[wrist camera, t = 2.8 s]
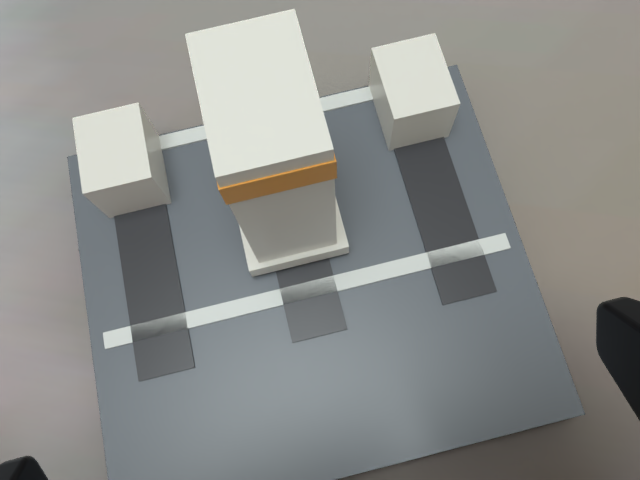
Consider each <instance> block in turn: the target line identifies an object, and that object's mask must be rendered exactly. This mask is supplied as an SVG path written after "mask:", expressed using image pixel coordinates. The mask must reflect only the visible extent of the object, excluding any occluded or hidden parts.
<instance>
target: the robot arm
mask: <svg viewBox="0 0 640 480" xmlns="http://www.w3.org/2000/svg"><path fill="white" fill-rule="evenodd" d="M596 345H597V350H598V353H599V356H600V358H601V360H602V361H603V363H604V365H605V366H606V368H607V369H608V371H609V373H610V374H611V376H612V377H613V379H614V381H615V382H616V384H617V385H618V387H619V389H620V390H621V392H622V393H623V395H624V397H625V398H626V400H627V401H628V403H629V405H630V406H631V408H632V409H633V411H634V412H635V414H636V416H637V417H638V419H639V420H640V301H637V300H634V299H631V298H627V297H620V298H616V299H612V300H609V301H605V302H602V303H601V304H599V306H598V308H597V323H596ZM0 480H48V478H47V477H46V475H45V474H44V472H43V470H42V469H41V467H40V465H39V464H38V462H37V461H36V460H35V459H34V458H33V457H31V456H24V457H20V458H16V459H13V460H9V461H6V462H3V463H2V464H0Z"/></svg>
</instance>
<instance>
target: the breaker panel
mask: <svg viewBox="0 0 640 480" xmlns="http://www.w3.org/2000/svg"><path fill="white" fill-rule="evenodd" d="M319 98H320V102H321V105H322V109H323V112H324V116H325V119H326V123H327V127H328V130H329V134H330V137H331V141H332V145H333V148H334V154H335V157H336V161H337V178H336V179H335V196H336V200H337V204H338V207H339V211H340V215H341V218H342V222H343V226H344V229H345V233H346V237H347V240H348V244H349V253H347V254H343V255H339V256H335V257H331V258H327V259H323V260H319V261H315V262H311V263H307V264H303V265H298V266H294V267H290V268H286V269H282V270H278V271H274V272H270V273H266V274H262V275H258V276H254V277H252V276H251V274H250V272H249V269H248V265H247V260H246V255H245V251H244V246H243V241H242V237H241V232H240V227H239V223H238V221H237V220H236V218H235V216H234V214H233V212H232V210H231V208H230V206H229V204H228V205H226V203H225V202H224V200H223V198H222V196H221V194H220V192H219V190H218V186H217V181H216V179H215V176H214V171H213V166H212V161H211V156H210V152H209V147H208V142H207V137H206V132H205V127H204V125H200V126H196V127H191V128H187V129H183V130H179V131H174V132H170V133H166V134H162V135H159V134H158V132H157V131H156V129H155V128H154V126H153V125H152V123H151V121H150V120H149V118H148V117H147V115H146V113H145V112H144V110H143V109H142V107H141V106H140V104H139V102H138V103H134V104H130V105H125V106H121V107H117V108H112V109H108V110H104V111H100V112H95V113H91V114H87V115H83V116H78V117H74V118H72V120H73V127H74V135H75V142H76V150H77V155H73V156H68V157H67V158H68V166H69V174H70V182H71V190H72V198H73V206H74V214H75V221H76V229H77V237H78V245H79V253H80V261H81V269H82V277H83V285H84V293H85V301H86V309H87V316H88V324H89V332H90V340H91V348H92V356H93V364H94V372H95V380H96V388H97V396H98V403H99V411H100V419H101V427H102V435H103V443H104V451H105V459H106V467H107V475H108V480H336V479H340V478H344V477H348V476H351V475H355V474H359V473H363V472H367V471H371V470H374V469H378V468H382V467H386V466H390V465H393V464H397V463H401V462H405V461H409V460H413V459H416V458H420V457H424V456H428V455H432V454H436V453H439V452H443V451H447V450H451V449H455V448H458V447H462V446H466V445H470V444H474V443H478V442H481V441H485V440H489V439H493V438H497V437H501V436H504V435H508V434H512V433H516V432H520V431H524V430H527V429H531V428H535V427H539V426H543V425H546V424H550V423H554V422H558V421H562V420H566V419H569V418H573V417H577V416H581V415H585V412H584V410H583V407H582V404H581V402H580V399H579V396H578V393H577V391H576V388H575V385H574V383H573V380H572V377H571V374H570V372H569V369H568V366H567V363H566V361H565V358H564V355H563V353H562V350H561V347H560V344H559V342H558V339H557V336H556V334H555V331H554V328H553V325H552V323H551V320H550V317H549V314H548V312H547V309H546V306H545V304H544V301H543V298H542V295H541V293H540V290H539V287H538V284H537V282H536V279H535V276H534V274H533V271H532V268H531V265H530V263H529V260H528V257H527V255H526V252H525V249H524V246H523V244H522V241H521V238H520V235H519V233H518V230H517V227H516V225H515V222H514V219H513V216H512V214H511V211H510V208H509V206H508V203H507V200H506V197H505V195H504V192H503V189H502V186H501V184H500V181H499V178H498V176H497V173H496V170H495V167H494V165H493V162H492V159H491V157H490V154H489V151H488V148H487V146H486V143H485V140H484V137H483V135H482V132H481V129H480V127H479V124H478V121H477V118H476V116H475V113H474V110H473V108H472V105H471V102H470V99H469V97H468V94H467V91H466V88H465V86H464V83H463V80H462V78H461V75H460V72H459V69H458V67H457V65H454V66H450V67H447V65H446V62H445V59H444V56H443V54H442V51H441V48H440V45H439V43H438V40H437V37H436V34H435V33H433V34H429V35H425V36H421V37H416V38H412V39H408V40H403V41H399V42H395V43H391V44H386V45H382V46H378V47H374V48H371V59H370V72H369V86H365V87H361V88H356V89H352V90H348V91H344V92H340V93H335V94H331V95H327V96H323V97H319Z"/></svg>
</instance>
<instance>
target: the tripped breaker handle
mask: <svg viewBox="0 0 640 480" xmlns="http://www.w3.org/2000/svg"><path fill="white" fill-rule="evenodd" d="M185 36H186V41H187V46H188V51H189V55H190V60H191V65H192V70H193V75H194V79H195V84H196V89H197V94H198V99H199V103H200V108H201V113H202V118H203V123H204V127H205V132H206V137H207V142H208V147H209V152H210V156H211V161H212V166H213V171H214V176H215V179H216V181H217V186H218V190H219V192H220V194H221V196H222V198H223V200H224V202H225V203H226V205H228V204H229V206H230V208H231V210H232V212H233V214H234V216H235V218H236V220H237V221H238V223H239V227H240V232H241V237H242V241H243V246H244V251H245V255H246V260H247V265H248V269H249V272H250V274H251V276H252V277H254V276H258V275H262V274H266V273H270V272H274V271H278V270H282V269H286V268H290V267H294V266H298V265H303V264H307V263H311V262H315V261H319V260H323V259H327V258H331V257H335V256H339V255H343V254H347V253H349V244H348V240H347V237H346V233H345V229H344V226H343V222H342V218H341V215H340V211H339V207H338V204H337V200H336V196H335V179H336V178H337V161H336V157H335V154H334V148H333V145H332V141H331V137H330V134H329V130H328V127H327V123H326V119H325V116H324V112H323V109H322V105H321V102H320V98H319V94H318V91H317V87H316V84H315V80H314V77H313V73H312V69H311V66H310V62H309V59H308V55H307V51H306V48H305V44H304V41H303V37H302V34H301V30H300V26H299V23H298V19H297V16H296V12H295V9H291V10H287V11H283V12H278V13H274V14H270V15H265V16H261V17H256V18H252V19H248V20H243V21H239V22H235V23H230V24H226V25H222V26H217V27H213V28H209V29H204V30H200V31H196V32H191V33H187V34H185Z"/></svg>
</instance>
